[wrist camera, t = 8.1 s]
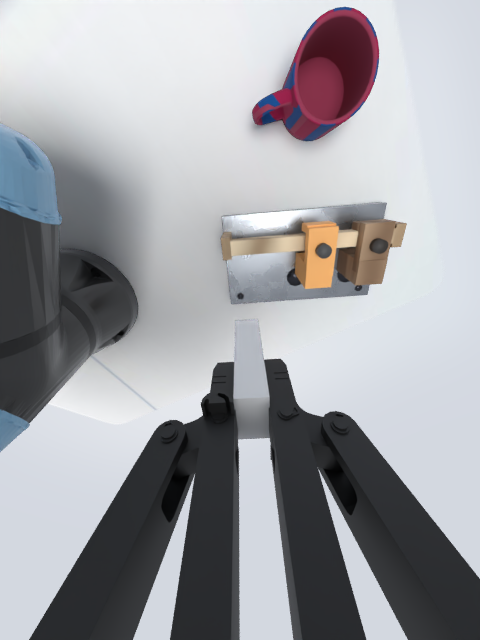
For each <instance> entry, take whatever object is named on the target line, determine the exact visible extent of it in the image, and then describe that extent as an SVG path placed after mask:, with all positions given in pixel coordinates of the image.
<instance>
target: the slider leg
mask: <svg viewBox="0 0 480 640" xmlns="http://www.w3.org/2000/svg"><path fill="white" fill-rule="evenodd" d="M302 231H303V232H305V233H306V240H305V253H296V260H295V275H296V276H297V278H298V279H299V281H300V282H301V284H302V285H303V287H304V288H305V289H313V288H327V287H331V284H332V276H333V271H334V263H335V255H336V247H337V239H338V231H339V226H336V223H334V222H331V221H320V222H308V223H302Z"/></svg>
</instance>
